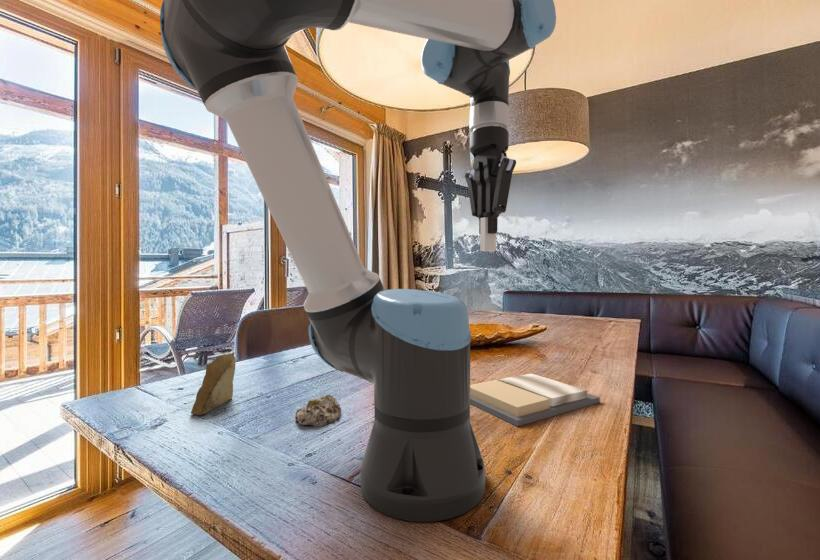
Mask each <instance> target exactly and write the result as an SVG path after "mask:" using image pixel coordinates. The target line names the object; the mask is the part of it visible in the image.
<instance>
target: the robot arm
mask: <svg viewBox="0 0 820 560" xmlns="http://www.w3.org/2000/svg"><path fill="white" fill-rule="evenodd" d="M159 13H160V14H159V21H160V22H159V23H160V24H159V27H160V36H161V42H162V47H163V51H164V53H165V56H166V57H167V60H168V61H169V63H170V65H171V67H172V68H173V69H174V71H175V72H176V74H177V75H178V76H179V77H180V78H181V80H182V81H184V83H186V85H188V86H189V87H190V88H193V89H194V90H196V91H197V93H198V95H199V97H200V99H201V101H202V104H203V106H204V107H205V109H206V111H208V112H209V113H212V115H215V116H217V117H219V118H221V119H224V120H225V122H226V123H227V124H228V127H229V129H230V131H231V134H232V135H233V138H234V139H235V142H236V143H237V145H238V148H239V150H240V152H241V153H242V156H243V158H244V160H245V162H246V165H247V166H248V168H249V171H250V172H251V174H252V177H253V179H254V181H255V183H256V186H257V188H258V189H259V192H260V194H261V196H262V199H263V200H264V202H265V205H266V207H267V208H268V210H269V213H270V215H271V217H272V219H273V221H274V223H275V225H276V227H277V229H278V232H279V233H280V235H281V237H282V239H283V241H284V244H285V246H286V248H287V250H288V252H289V255H290V256H291V258H292V261H293V262H294V265H295V267H296V269H297V271H298V274H299V275H300V276H301V279H302V281H303V283H304V286H305V287H306V290H307V292H308V293H307V297H306V298H305V302H304V305H303V309H304V312H305V313H306V315H307V317H308V320H309V321H310V322H309V325H308V337H309V342H310V345H311V348H312V349H313V352H314V353H315V354H316V355H317V357H318V358H320V360H322V361H323V362H324V363H325V364H326V365H327V366H330V367H331V368H332V369H335V370H336V371H339V372H343V373H346V374H348V375H350V376H353V377H356V378H359V379H363V380H364V381H368V382H369V383H371V384H373V395H374V396H373V397H374V399H373V400H374V421H373V425H372V429H371V431H370V435H369V438H368V442H367V445H366V448H365V452H364V455H363V458H362V460H361V466H360V489H361V493H362V496H363V497H364V499H365V501H366V502H367V503H368V504H369V505H370V506H371V507H372V508H374V509H375V510H377V511H379V512H380V513H382V514H384V515H387V516H389V517H392V518H395V519H398V520H404V521H409V522H419V523H420V522H423V523H426V522H427V523H428V522H439V521H444V520H449V519H453V518H456V517H459V516H462V515H463V514H466V513H467V512H469V511H471V510H473V508H475V507H476V506H477V505H478V504H479V503H480V502H481V500H482V499H483V498H484V495H485V493H486V468H485V463H484V460H483V457H482V453H481V450H480V447H479V444H478V442H477V438H476V435H475V432H474V429H473V426H472V424H471V404H470V385H471V339H472V335H471V333H472V332H471V329H470V320H469V317H470V316H469V309H468V307H467V305H466V303H464V302H463V300H462V299H460V298H458V297H457V296H454V295H451V294H448V293H444V292H439V291H434V290H433V291H432V290H422V289H414V288H413V289H412V288H392V289H385V286H384V285H383V283H382V280H381V277H380V276H379V274H378V273H376V272H374V271H373V270H369V269H367V268H365V266H364V264H363V261H362V260H361V259H362V258H361V256H360V254H359V253H358V250H357V248H356V246H355V243H354V241H353V238H352V236H351V232H350V231H349V228H348V226H347V223H346V221H345V219H344V217H343V214H342V212H341V209H340V207H339V205H338V203H337V200H336V198H335V196H334V192H333V190H332V188H331V186H330V184H329V181H328V179H327V177H326V175H325V171H324V169H323V167H322V164H321V162H320V160H319V157H318V154H317V153H316V149H315V148H314V146H313V143H312V141H311V138H310V135H309V134H308V130H307V129H306V126H305V124H304V121H303V119H302V117H301V115H300V114H301V113H300V112H299V110H298V107H297V106H296V102H295V100H294V96H295V93H296V90H297V87H298V84H299V78H298V76H297V74H296V71H295V68H294V66H293V63H292V60H291V59H290V56H289V54H288V51H287V49H286V44H287V43H288V41H289V40H290V38H291V37H292V36H294V35H295V34H296V33H299V32H301V31H304V30H307V29H314V28H318V29H326V30H329V31H339V30H342V29H343V28H344V27H345V26H346V25H347V24H348V23H350V24H355V25H360V26H364V27H368V28H375V29H378V30H384V31H387V32H393V33H397V34H402V35H407V36H412V37H415V38H421V39H426V41H425V43H424V46H423V48H422V50H421V51H422V52H421V61H420V63H421V69H422V71H423V72H422V73H424V75H425V76H427V77H429V78H430V79H432V80H433V81H436V83H437V84H439V85H443V86H445V87H447V88H450V89H453V90H455V91H458V92H460V93H462V95H466V96H468V97H469V132H470V134H469V152H470V153H471V154H472V156H473V161H472V166H471V167H472V169H471V170H470V172H466V173H464V179H465V181H466V183H467V190H468V195H469V196H468V198H469V203H470V210H471V215H472V217H475V218H478V222H479V226H478V232H479V236H480V237H479V245H480V246H479V248H480V250H479V252H489V253H490V252H496V249H497V234H498V223H499V222H498V218H499V217H500V215H501V214H503V213H506V211H507V207H508V199H509V195H510V194H509V193H510V190H511V183H512V177H513V172H514V169H515V168H516V165H517V160H516V159H513V158H509V157H507V152H508V150H509V145H510V144H509V142H510V140H509V139H510V138H509V136H510V135H509V130H508V129H509V116H510V115H509V113H510V112H509V110H510V109H509V107H510V106H509V105H510V103H509V98H510V97H509V91H510V74H511V68H510V60H512V59H514V58H516V57H517V56H520V55H522V54H523V53H526V52H528V51H530V50H532V49H534V48H535V46H537V45H539V44H540V43H542V42H544V41H545V40H548V38H550V37H551V36H552V34H553V33H554V31H555V28H556V24H557V16H556V15H557V13H556V5H555V2H554V0H162V3H161V6H160V11H159Z"/></svg>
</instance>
